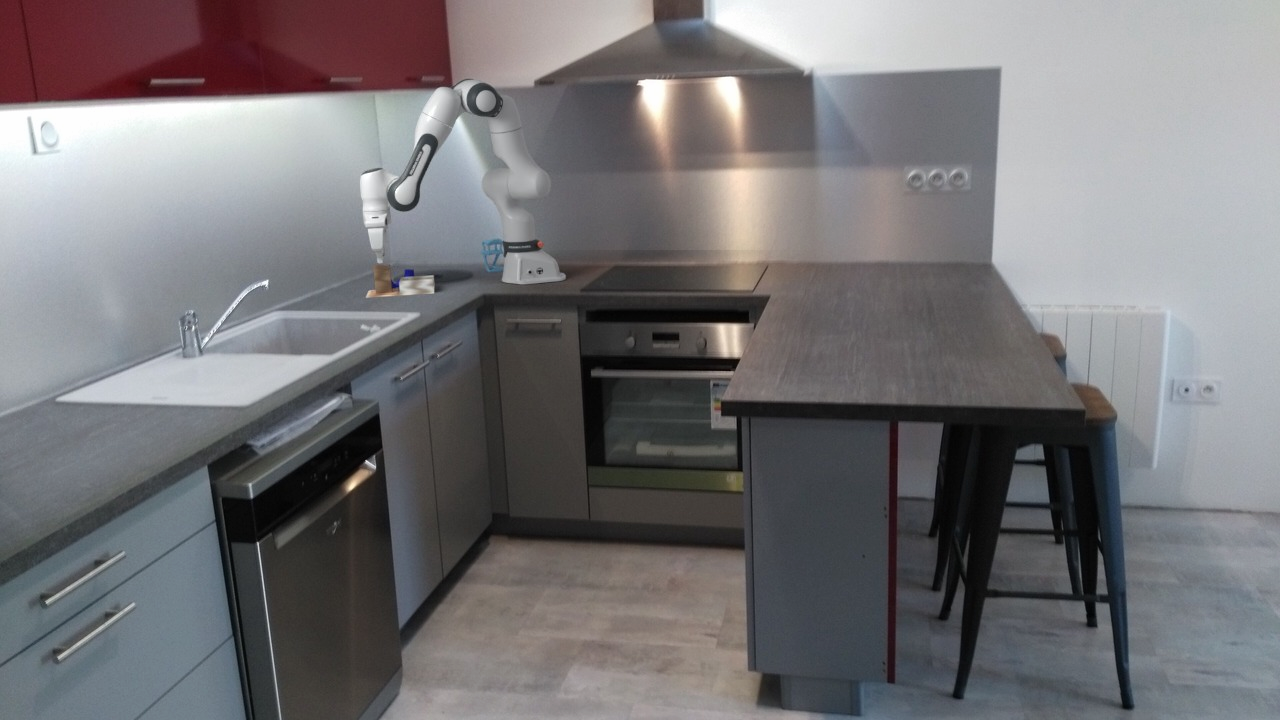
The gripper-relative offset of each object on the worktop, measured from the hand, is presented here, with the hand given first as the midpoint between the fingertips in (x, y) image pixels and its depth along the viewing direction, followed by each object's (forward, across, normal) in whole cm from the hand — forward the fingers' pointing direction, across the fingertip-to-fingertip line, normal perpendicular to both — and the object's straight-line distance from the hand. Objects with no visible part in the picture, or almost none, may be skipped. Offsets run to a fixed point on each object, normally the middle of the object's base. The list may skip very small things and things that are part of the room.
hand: (381, 260), depth 352 cm
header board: (+12, +1, +5) cm, 13 cm away
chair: (+13, -39, +37) cm, 55 cm away
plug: (+11, +1, 0) cm, 11 cm away
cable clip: (+12, -12, +3) cm, 17 cm away
